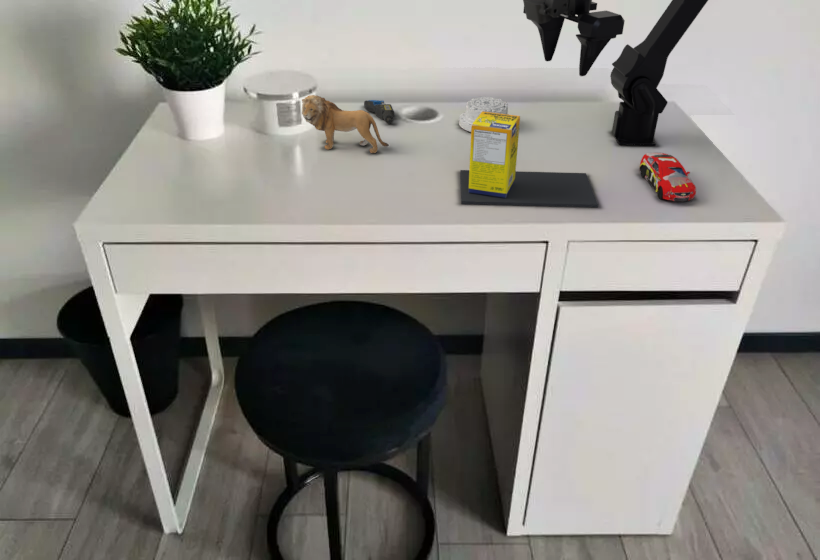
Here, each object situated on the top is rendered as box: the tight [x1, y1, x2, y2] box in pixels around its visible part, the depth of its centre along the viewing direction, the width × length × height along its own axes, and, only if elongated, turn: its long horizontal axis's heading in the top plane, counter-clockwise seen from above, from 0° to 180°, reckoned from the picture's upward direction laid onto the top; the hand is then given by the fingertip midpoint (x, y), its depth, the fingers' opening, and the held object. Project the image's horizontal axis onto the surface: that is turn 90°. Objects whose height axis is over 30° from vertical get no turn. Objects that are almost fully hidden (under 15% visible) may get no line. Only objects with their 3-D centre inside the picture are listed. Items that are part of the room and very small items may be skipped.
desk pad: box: [459, 169, 599, 208], centre depth 109 cm, size 20×11×1 cm, turn 87°
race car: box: [638, 152, 697, 202], centre depth 109 cm, size 13×5×4 cm, turn 2°
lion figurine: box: [301, 94, 390, 154], centre depth 120 cm, size 15×5×9 cm, turn 86°
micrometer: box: [363, 99, 395, 124], centre depth 135 cm, size 12×2×5 cm
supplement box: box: [468, 111, 521, 198], centre depth 105 cm, size 6×6×11 cm
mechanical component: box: [458, 96, 510, 133], centre depth 130 cm, size 10×4×10 cm
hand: (564, 68), depth 118 cm, fingers open, 9 cm apart
